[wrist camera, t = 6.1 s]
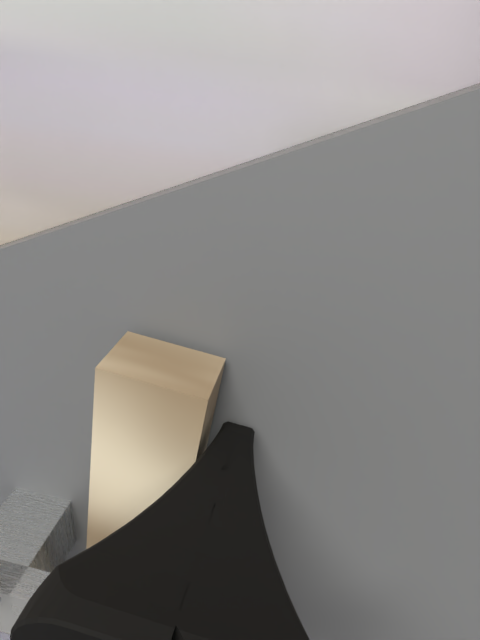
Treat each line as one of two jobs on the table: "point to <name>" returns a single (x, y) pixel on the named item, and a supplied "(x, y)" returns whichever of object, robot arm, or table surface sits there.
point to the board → (291, 356)
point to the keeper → (30, 547)
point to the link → (146, 425)
